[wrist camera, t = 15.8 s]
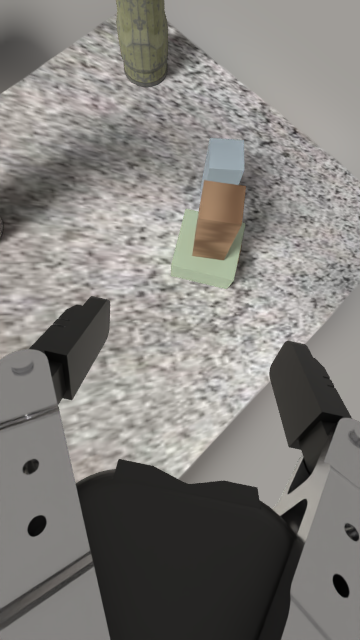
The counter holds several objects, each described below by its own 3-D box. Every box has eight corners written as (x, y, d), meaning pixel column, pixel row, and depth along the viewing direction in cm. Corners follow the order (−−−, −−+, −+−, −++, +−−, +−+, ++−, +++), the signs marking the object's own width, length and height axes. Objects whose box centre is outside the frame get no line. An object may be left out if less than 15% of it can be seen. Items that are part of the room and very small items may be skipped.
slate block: (200, 211, 43) (209, 168, 33) (200, 187, 44) (209, 137, 34) (227, 212, 43) (244, 170, 34) (227, 188, 44) (243, 140, 34)
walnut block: (192, 255, 37) (198, 218, 27) (196, 226, 38) (204, 180, 28) (223, 260, 37) (241, 224, 27) (226, 231, 38) (245, 186, 28)
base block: (170, 276, 41) (171, 265, 36) (183, 225, 43) (185, 208, 38) (227, 290, 41) (235, 281, 37) (238, 239, 43) (247, 223, 38)
